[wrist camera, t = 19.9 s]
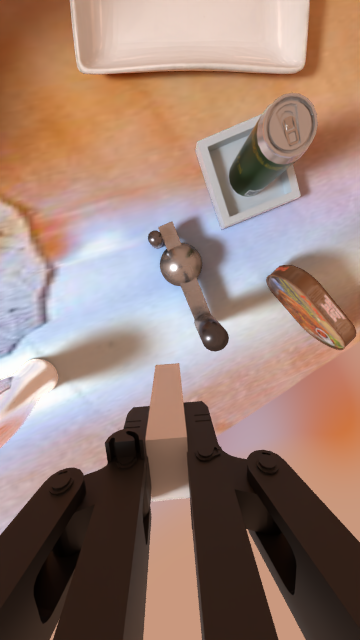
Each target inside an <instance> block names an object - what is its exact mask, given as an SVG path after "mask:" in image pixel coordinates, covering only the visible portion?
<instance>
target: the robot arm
mask: <svg viewBox="0 0 360 640" xmlns="http://www.w3.org/2000/svg"><path fill="white" fill-rule="evenodd" d="M105 447H106V453H107V460H108V464H107V466H105V467H104V468H102V469H100V470H98V471H95V472H92V473H90V474H87V475H83V473H82V472H81V470H80V469H77V468H66V469H63V470H60V471H58V472H57V473H55V474H53V475H52V476H50V477H49V478H48V479H47V480H46V481H45V482H44V483H43V485H42V486H41V487H40V488H39V489H38V491H37V492H36V493H35V494H34V495H33V497H32V498H31V499H30V500H29V501H28V503H27V504H26V505H25V506H24V507H23V509H22V510H21V511H20V512H19V513H18V515H17V516H16V517H15V518H14V519H13V521H12V522H11V523H10V524H9V525H8V527H7V528H6V529H5V530H4V531H3V533H2V534H1V535H0V640H50V638H51V635H52V633H53V631H54V629H55V627H56V625H57V623H58V625H57V629H56V632H55V635H54V638H53V640H143V632H144V617H145V603H146V588H147V572H148V559H149V544H150V529H151V509H150V501H151V498H152V501H161V500H171V499H182V498H190V504H191V520H192V530H193V541H194V552H195V564H196V575H197V587H198V598H199V610H200V622H201V633H202V640H278V637H277V634H276V630H275V626H274V623H273V620H272V616H271V613H270V609H269V606H268V603H267V599H266V596H265V592H264V589H263V585H262V582H261V579H260V575H259V572H258V568H257V565H256V562H255V558H254V555H253V552H252V548H251V544H250V541H249V537H248V534H247V531H246V529H248V530H249V533H250V535H251V537H252V538H253V540H254V542H255V544H256V546H257V548H258V550H259V552H260V554H261V555H262V558H263V559H264V561H265V563H266V565H267V567H268V569H269V571H270V572H271V575H272V576H273V578H274V580H275V582H276V584H277V586H278V588H279V590H280V592H281V593H282V595H283V597H284V599H285V601H286V603H287V605H288V607H289V609H290V611H291V612H292V614H293V616H294V618H295V620H296V622H297V624H298V626H299V628H300V629H301V631H302V633H303V635H304V637H305V639H306V640H360V542H359V541H358V540H357V539H356V538H355V537H354V536H353V535H352V533H351V532H350V531H349V530H348V529H347V528H346V527H345V526H344V525H343V524H342V523H341V522H340V520H339V519H338V518H337V517H336V516H335V515H334V514H333V513H332V512H331V511H330V510H329V509H328V507H327V506H326V505H325V504H324V503H323V502H322V501H321V500H320V499H319V497H318V496H317V495H316V494H315V493H314V492H313V491H312V490H311V489H310V488H309V487H308V485H307V484H306V483H305V482H304V481H303V480H302V479H301V478H300V477H299V476H298V475H297V473H296V472H295V471H294V470H293V469H292V468H291V467H290V466H289V465H288V464H287V463H286V461H284V459H282V458H281V457H280V456H279V455H277V454H275V453H273V452H271V451H266V450H258V451H254V452H252V453H251V454H250V455H249V457H248V458H247V459H241V458H237V457H233V456H231V455H228V454H227V453H225V452H224V451H223V450H222V449H221V447H220V446H219V445H218V442H217V438H216V435H215V431H214V427H213V424H212V421H211V417H210V413H209V410H208V407H207V406H206V405H205V404H204V403H203V402H202V401H199V402H186V403H183V395H182V386H181V376H180V367H179V363H178V364H165V365H156V366H155V373H154V381H153V388H152V395H151V402H150V406H146V407H133V408H132V410H131V411H130V412H129V413H128V414H127V418H126V421H125V425H124V429H123V430H119V431H117V432H115V433H113V434H112V435H111V436H110V437H108V439H107V440H106V442H105ZM59 618H60V619H59ZM58 621H59V622H58Z"/></svg>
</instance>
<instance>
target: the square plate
mask: <svg viewBox="0 0 360 640" xmlns="http://www.w3.org/2000/svg"><path fill="white" fill-rule="evenodd" d="M309 7H310V0H70V8H71V19H72V29H73V38H74V47H75V55H76V62H77V67H78V69H79V71H80V72H82V73H84V74H118V73H137V72H156V71H190V70H193V71H230V72H248V73H272V74H295V73H297V72H298V71H300V70H302V69H303V68H304V65H305V61H306V51H307V39H308V23H309Z"/></svg>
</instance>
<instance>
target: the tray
mask: <svg viewBox="0 0 360 640" xmlns="http://www.w3.org/2000/svg"><path fill="white" fill-rule="evenodd" d="M261 115H262V114H261ZM261 115H259V116H256V117H254V118H251V119H249V120H247V121H244V122H242V123H240V124H237V125H235V126H233V127H230V128H228V129H226V130H223V131H221V132H219V133H216V134H214V135H211V136H209V137H207V138H204V139H202V140H200V141H197V145H196V150H195V152H196V155H197V158H198V161H199V164H200V167H201V170H202V173H203V176H204V179H205V182H206V185H207V188H208V191H209V194H210V197H211V200H212V203H213V206H214V209H215V212H216V215H217V218H218V221H219V224H220V228H221V230H222V229H225V228H227V227H230V226H232V225H235V224H237V223H240V222H242V221H245V220H247V219H249V218H252V217H254V216H257V215H259V214H262V213H264V212H267V211H269V210H272V209H274V208H276V207H279V206H281V205H284V204H286V203H289V202H291V201H293V200H295V199H297V198H299V197H301V195H300V191H299V187H298V183H297V179H296V175H295V170H294V166H293V164H292V165H291V166H290V167H289V168H288V169H286V170H285V171H284V172H283V173H282V174H280V175H279V176H278V177H277V178H276V179H274V180H273V181H272V182H271V183H270V184H269V185H267V186H266V187H265V188H264V189H263V190H261V191H260V192H259V193H257V194H256V195H253V196H249V197H247V196H241V195H239V194H237V193H236V192H235V191H234V190H233V188H232V186H231V184H230V180H229V171H230V167H231V165H232V163H233V161H234V160H235V158H236V156H237V155H238V153H239V151H240V150H241V148H242V146H243V145H244V143H245V141H246V140H247V138H248V136H249V135H250V133H251V131H252V130H253V128H254V126H255V125H256V123H257V121H258V120H259V118H260V116H261Z"/></svg>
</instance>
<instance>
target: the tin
mask: <svg viewBox="0 0 360 640" xmlns="http://www.w3.org/2000/svg"><path fill="white" fill-rule="evenodd" d="M266 281H267V285H268V287H269V289H270V290H271V291H272V293H273V294H274V295H275V296H276V298H277V299H278V300H279V301H280V302H281V303H282V304H283V306H284V307H285V308H286V309H287V310H288V311H289V312H290V314H291V315H292V316H293V317H294V318H295V319H296V321H297V322H298V323H299V324H300V325H301V326H302V327H303V328H304V329H305V330H306V331H307V332H308V333H309V334H310V335H312V336H313V337H314V338H316V339H317V340H318V341H320V342H322V343H323V344H325V345H327V346H329V347H331V348H333V349H336V350H343V349H345V347H346V346H347V345H348V344H349V343H350V342H351V341H352V340H353V339H354V338H355V336H356V330H355V327H354V326H353V324H352V323H351V321H350V320H349V319H348V318H347V316H346V315H345V314H344V313H343V311H342V310H341V309H340V308H339V306H338V305H337V304H336V303H335V301H334V300H333V299H332V298H331V297H330V295H329V294H328V293H327V292H326V291H325V289H324V288H323V287H322V286H321V284H320V283H319V282H318V281H317V280H316V279H315V278H314V277H312V276H311V275H310V274H309V273H307V272H306V271H304V270H302V269H300V268H298V267H296V266H292V265H282V266H279V267H278V268H277V269H276V270H275V271H274V272H273V273H272V274H271V275H269V276H268V277H267V279H266Z"/></svg>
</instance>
